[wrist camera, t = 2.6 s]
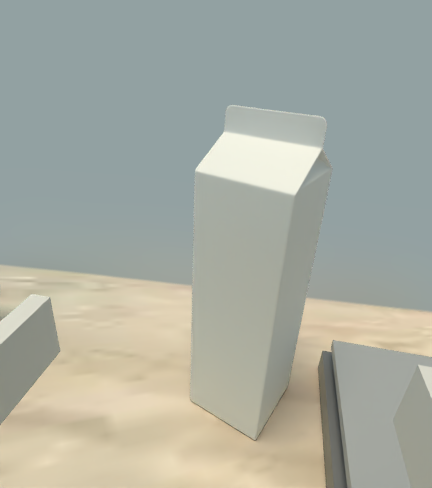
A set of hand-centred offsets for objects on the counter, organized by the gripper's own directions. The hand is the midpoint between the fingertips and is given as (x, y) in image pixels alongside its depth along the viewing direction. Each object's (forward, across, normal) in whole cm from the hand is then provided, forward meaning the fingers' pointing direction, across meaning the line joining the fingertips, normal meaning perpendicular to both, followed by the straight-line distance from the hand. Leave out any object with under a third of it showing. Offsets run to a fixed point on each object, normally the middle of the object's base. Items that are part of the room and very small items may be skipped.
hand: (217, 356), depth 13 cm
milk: (+11, +1, -15) cm, 18 cm away
